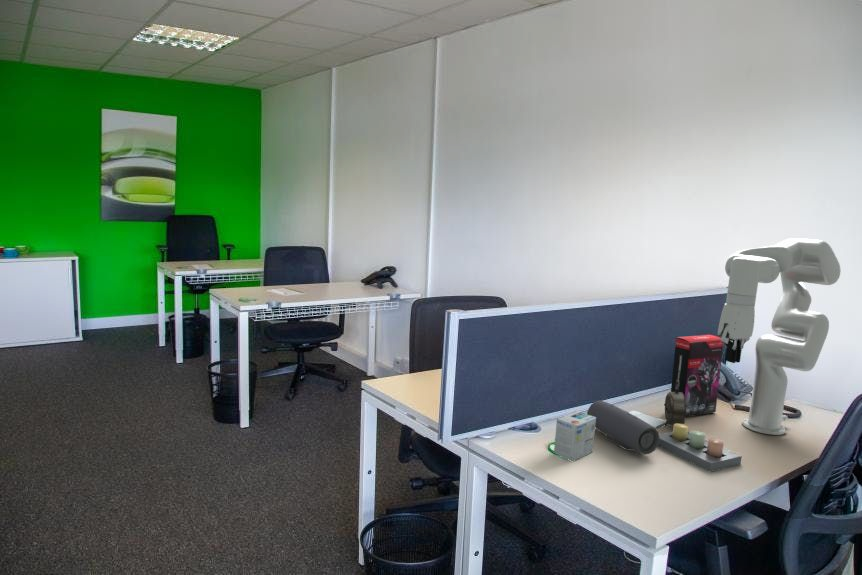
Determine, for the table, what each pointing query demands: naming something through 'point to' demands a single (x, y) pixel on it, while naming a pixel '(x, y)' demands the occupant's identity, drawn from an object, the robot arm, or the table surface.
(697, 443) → the green button
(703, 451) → the button board
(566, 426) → the light bulb box
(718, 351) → the graphics card box
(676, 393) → the alarm clock
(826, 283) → the robot arm
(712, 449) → the terracotta button
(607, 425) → the bluetooth speaker
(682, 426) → the ochre button
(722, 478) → the table surface
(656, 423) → the external hard drive
